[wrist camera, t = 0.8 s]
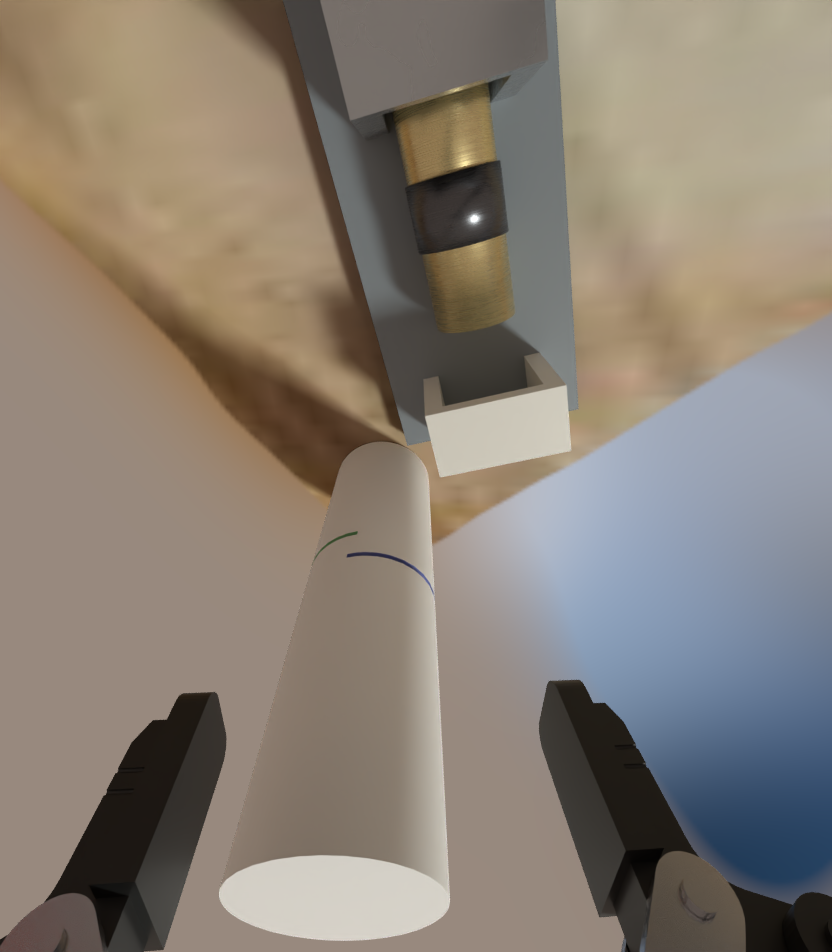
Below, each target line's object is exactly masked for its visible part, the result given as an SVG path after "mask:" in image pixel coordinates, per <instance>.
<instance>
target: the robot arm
mask: <svg viewBox="0 0 832 952" xmlns="http://www.w3.org/2000/svg"><path fill="white" fill-rule="evenodd" d="M539 734H540V741H541V745H542V749H543V752H544V755H545V758H546V761H547V764H548V767H549V770H550V773H551V775H552V779H553V782H554V785H555V788H556V791H557V793H558V797H559V799H560V802H561V805H562V808H563V811H564V814H565V817H566V820H567V823H568V826H569V829H570V832H571V835H572V838H573V841H574V843H575V847H576V850H577V852H578V855H579V858H580V861H581V864H582V867H583V870H584V873H585V876H586V878H587V882H588V885H589V888H590V891H591V894H592V896H593V900H594V903H595V906H596V909H597V911H598V914H599V917H609V916H617V917H618V920H619V922H620V925H621V928H622V930H623V933H624V940H623V944H622V950H621V952H832V897H830V896H828V895H824V894H821V893H814V892H810V893H805V894H803V895H801V896H800V897H799V898H798V899H797V900H796V901H795V903H794V904H793V905H791V904H788V903H785V902H782V901H779V900H776V899H772V898H769V897H766V896H763V895H760V894H757V893H753V892H750V891H747V890H744V889H742V888H739V887H737V886H735V885H733V884H731V883H729V882H727V881H726V880H725V878H724V877H723V876H722V875H721V874H720V873H719V872H718V871H717V870H716V869H715V868H714V867H712V866H711V865H710V864H709V863H707V862H706V861H704V860H703V859H701V858H700V857H699V856H698V855H697V854H696V852H695V851H694V850H693V849H692V847H691V845H690V844H689V842H688V840H687V839H686V837H685V835H684V833H683V831H682V829H681V827H680V826H679V824H678V822H677V820H676V818H675V816H674V814H673V813H672V811H671V809H670V807H669V805H668V803H667V801H666V800H665V798H664V796H663V794H662V792H661V790H660V788H659V787H658V785H657V783H656V781H655V779H654V777H653V776H652V774H651V772H650V770H649V768H647V767H646V763H645V761H644V759H643V757H642V755H641V753H640V751H639V750H638V749H637V748H636V744H635V742H634V741H633V738H632V737H631V735H630V733H629V731H628V729H627V727H626V725H625V724H624V722H623V721H622V720H621V719H620V718H619V717H618V716H617V715H616V714H615V713H614V712H613V711H612V710H611V709H610V708H609V707H608V706H607V705H606V703H593V702H592V700H591V698H590V696H589V694H588V692H587V690H586V687H585V686H584V684H583V683H582V682H581V681H580V680H562V681H549V682H548V684H547V688H546V693H545V698H544V702H543V707H542V712H541V717H540V722H539ZM225 750H226V732H225V727H224V722H223V718H222V713H221V708H220V703H219V699H218V695H217V693H215V692H208V693H183V694H181V695H180V696H179V697H178V699H177V700H176V702H175V704H174V706H173V708H172V710H171V712H170V714H169V717H168V719H167V720H153V721H152V722H151V723H150V724H149V725H148V726H147V727H146V728H145V729H144V730H143V731H142V732H141V733H140V735H139V736H138V737H137V738H136V739H135V740H134V741H133V742H132V743H131V745H130V747H129V749H128V751H127V753H126V754H125V756H124V758H123V760H122V762H121V764H120V766H119V768H118V772H117V773H116V774H115V775H114V777H113V779H112V781H111V783H110V785H109V787H108V789H107V793H106V795H105V796H103V798H102V800H101V802H100V804H99V806H98V808H97V810H96V811H95V813H94V815H93V817H92V819H91V821H90V823H89V825H88V827H87V829H86V831H85V833H84V834H83V836H82V838H81V840H80V842H79V844H78V846H77V847H76V849H75V851H74V853H73V855H72V857H71V859H70V861H69V863H68V865H67V866H66V868H65V870H64V872H63V874H62V876H61V878H60V880H59V881H58V883H57V885H56V887H55V888H54V890H53V891H52V893H51V894H50V895H49V897H48V898H47V899H46V901H45V902H44V903H43V904H41V905H39V906H38V907H37V908H35V909H34V910H33V911H31V912H30V913H29V914H28V915H27V916H25V917H24V918H23V919H22V920H21V921H20V922H19V923H18V924H17V925H16V926H15V927H14V929H12V931H11V932H10V933H9V934H8V935H7V936H5V937H4V938H2V939H0V952H144V951H154V950H163V949H164V947H165V943H166V940H167V937H168V934H169V931H170V928H171V925H172V922H173V919H174V915H175V912H176V909H177V906H178V903H179V900H180V896H181V893H182V890H183V887H184V884H185V881H186V878H187V875H188V871H189V868H190V865H191V862H192V859H193V856H194V853H195V849H196V846H197V843H198V840H199V837H200V834H201V831H202V828H203V824H204V821H205V818H206V815H207V812H208V809H209V806H210V803H211V799H212V796H213V793H214V790H215V787H216V784H217V781H218V778H219V774H220V771H221V768H222V764H223V761H224V757H225Z"/></svg>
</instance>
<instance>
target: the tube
mask: <svg viewBox="0 0 832 952" xmlns="http://www.w3.org/2000/svg"><path fill="white" fill-rule="evenodd" d="M392 114H393V119H394V124H395V129H396V134H397V138H398V143H399V148H400V153H401V157H402V162H403V167H404V172H405V176H406V181H407V186H408V187H405V191H406V196H407V201H408V205H409V210H410V215H411V220H412V224H413V229H414V234H415V238H416V243H417V248H418V252H419V254H420V255H422V257H423V262H424V267H425V272H426V277H427V281H428V286H429V291H430V296H431V300H432V305H433V310H434V315H435V319H436V324H437V329H438V331H440V332H443V333H462V332H469V331H474V330H479V329H483V328H487V327H490V326H493V325H496V324H499V323H501V322H504V321H506V320H508V319H509V318H511V317H512V316H513V315H514V314H515V304H514V296H513V287H512V279H511V271H510V262H509V254H508V246H507V237H506V233H507V232H508V231H509V228H508V220H507V211H506V203H505V194H504V185H503V177H502V168H501V160H498V161H497V154H496V146H495V137H494V129H493V121H492V112H491V104H490V96H489V87H488V82H487V83H483V84H480V85H477V86H474V87H470V88H467V89H464V90H461V91H457V92H454V93H451V94H448V95H444V96H441V97H438V98H435V99H431V100H428V101H425V102H421V103H418V104H415V105H412V106H408V107H405V108H402V109H399V110H395V111H392Z"/></svg>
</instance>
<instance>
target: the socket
mask: <svg viewBox="0 0 832 952" xmlns="http://www.w3.org/2000/svg"><path fill="white" fill-rule="evenodd" d="M524 361H525V370H526V378H527V387H528V388H524V389H519V390H515V391H510V392H506V393H501V394H497V395H492V396H488V397H483V398H479V399H474V400H470V401H465V402H461V403H456V404H452V405H447V406H445V404H444V400H443V395H442V391H441V386H440V381H439V377H438V376H436V377H431V378H427V379H423V382H424V406H425V419H426V423H427V427H428V431H429V435H430V439H431V443H432V447H433V451H434V455H435V459H436V463H437V467H438V471H439V475H440V477H445V476H450V475H455V474H460V473H464V472H469V471H474V470H479V469H484V468H489V467H494V466H499V465H504V464H509V463H514V462H519V461H524V460H529V459H533V458H538V457H543V456H548V455H553V454H558V453H563V452H568V451H571V442H570V428H569V413H568V399H567V385H566V384H565V383H564V381H563V380H562V379H561V378H560V377H559V375H558V374H557V373H556V372H555V370H554V369H553V368H552V367H551V366H550V364H549V363H548V362H547V361H546V360H545V358H544V357H543V356H542V355H541V354H540V353H535V354H531V355H527V356H524Z"/></svg>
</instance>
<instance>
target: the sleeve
mask: <svg viewBox="0 0 832 952" xmlns="http://www.w3.org/2000/svg"><path fill="white" fill-rule="evenodd" d="M320 2H321V6H322V10H323V14H324V18H325V22H326V26H327V30H328V34H329V38H330V42H331V46H332V50H333V54H334V58H335V62H336V66H337V70H338V74H339V78H340V82H341V86H342V90H343V94H344V98H345V102H346V106H347V110H348V114H349V118H350V121H351V122H352V123H353V125H354V126H355V127H356V128H357V130H358V131H359V132H360V133H361V135H362V136H363V137H364V138H365V140H366V141H367V140H370V139H374V138H377V137H380V136H384V135H387V134H389V132H388V127H387V123H386V118H385V114H386V113H389V112H392V111H395V110H399V109H402V108H405V107H408V106H412V105H415V104H418V103H421V102H425V101H428V100H431V99H435V98H438V97H441V96H444V95H448V94H451V93H454V92H457V91H461V90H464V89H467V88H470V87H474V86H477V85H480V84H483V83H487V82H488V87H489V96H490V103H493V102H496V101H500V100H503V99H506V98H510V97H513V96H515V95H516V94H517V93H518V92H519V91H520V90H521V89H522V87H523V86H524V85H525V84H526V83H527V82H528V81H529V80H530V79H531V78H532V77H533V76H534V74H535V73H536V72H537V71H538V70H539V69H540V68H541V67H542V66H543V65H544V64H545V62H546V61H547V60H548V46H547V31H546V16H545V0H320Z"/></svg>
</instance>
